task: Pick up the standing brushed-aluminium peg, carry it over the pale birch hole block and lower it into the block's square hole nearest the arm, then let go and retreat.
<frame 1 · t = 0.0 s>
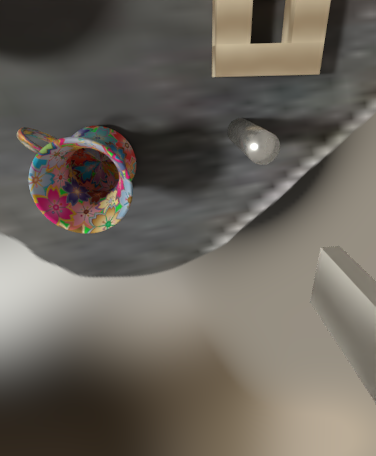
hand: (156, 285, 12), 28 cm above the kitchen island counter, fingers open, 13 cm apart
peg: (239, 131, 37), on the kitchen island counter
mug: (92, 153, 37), on the kitchen island counter
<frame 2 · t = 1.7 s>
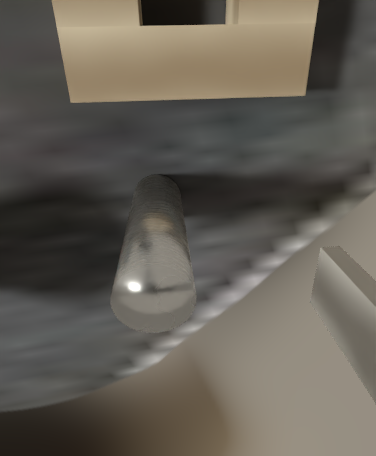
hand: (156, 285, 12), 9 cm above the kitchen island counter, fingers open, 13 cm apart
peg: (157, 197, 20), on the kitchen island counter
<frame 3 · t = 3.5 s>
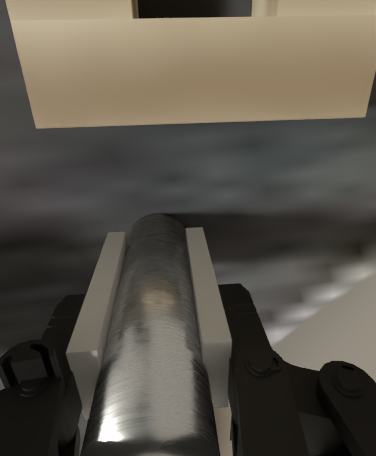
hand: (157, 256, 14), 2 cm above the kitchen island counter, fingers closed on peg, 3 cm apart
peg: (158, 240, 15), on the kitchen island counter, touching gripper
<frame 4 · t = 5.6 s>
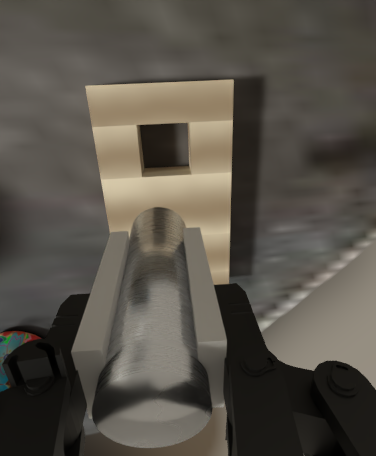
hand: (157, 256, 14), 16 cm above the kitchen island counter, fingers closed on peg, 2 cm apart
peg: (159, 232, 17), point 13 cm above the kitchen island counter, touching gripper
mug: (13, 346, 37), on the kitchen island counter
hole block: (168, 196, 30), on the kitchen island counter
when the fingers open (4 cm above the kitchen island counter, at t = 8.1 s): peg stays where it is, resting in hole block.
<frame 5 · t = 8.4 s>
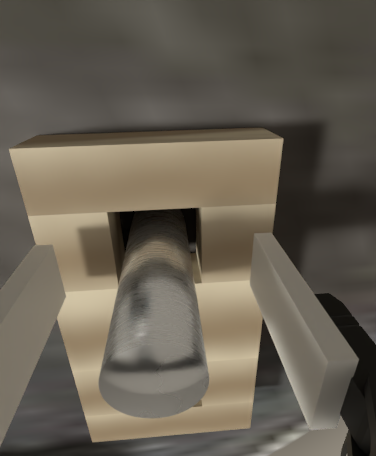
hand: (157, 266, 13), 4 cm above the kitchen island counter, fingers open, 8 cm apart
peg: (158, 224, 17), resting in hole block
hole block: (163, 293, 19), on the kitchen island counter
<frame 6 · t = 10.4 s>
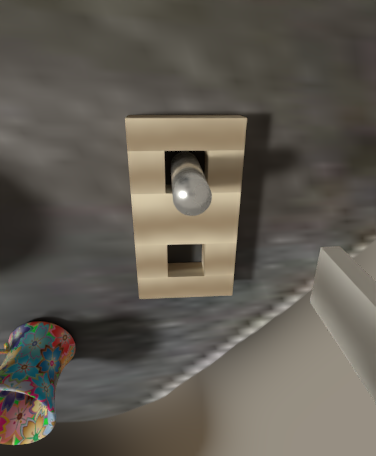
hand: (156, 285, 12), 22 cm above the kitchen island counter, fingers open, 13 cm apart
peg: (184, 165, 32), resting in hole block
mug: (36, 335, 41), on the kitchen island counter
hole block: (184, 209, 34), on the kitchen island counter
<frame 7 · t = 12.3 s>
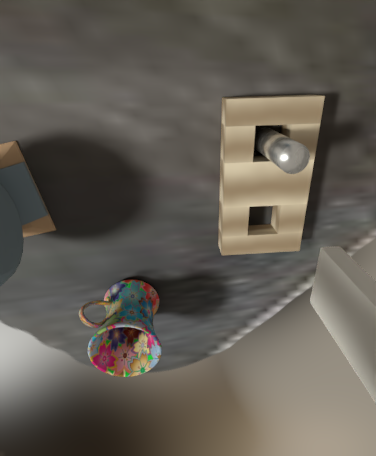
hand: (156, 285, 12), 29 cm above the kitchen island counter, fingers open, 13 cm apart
peg: (264, 139, 38), resting in hole block
mug: (125, 293, 48), on the kitchen island counter
alarm clock: (1, 195, 39), on the kitchen island counter
hole block: (260, 177, 41), on the kitchen island counter
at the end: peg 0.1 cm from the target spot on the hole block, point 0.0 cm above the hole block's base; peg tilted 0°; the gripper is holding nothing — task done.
